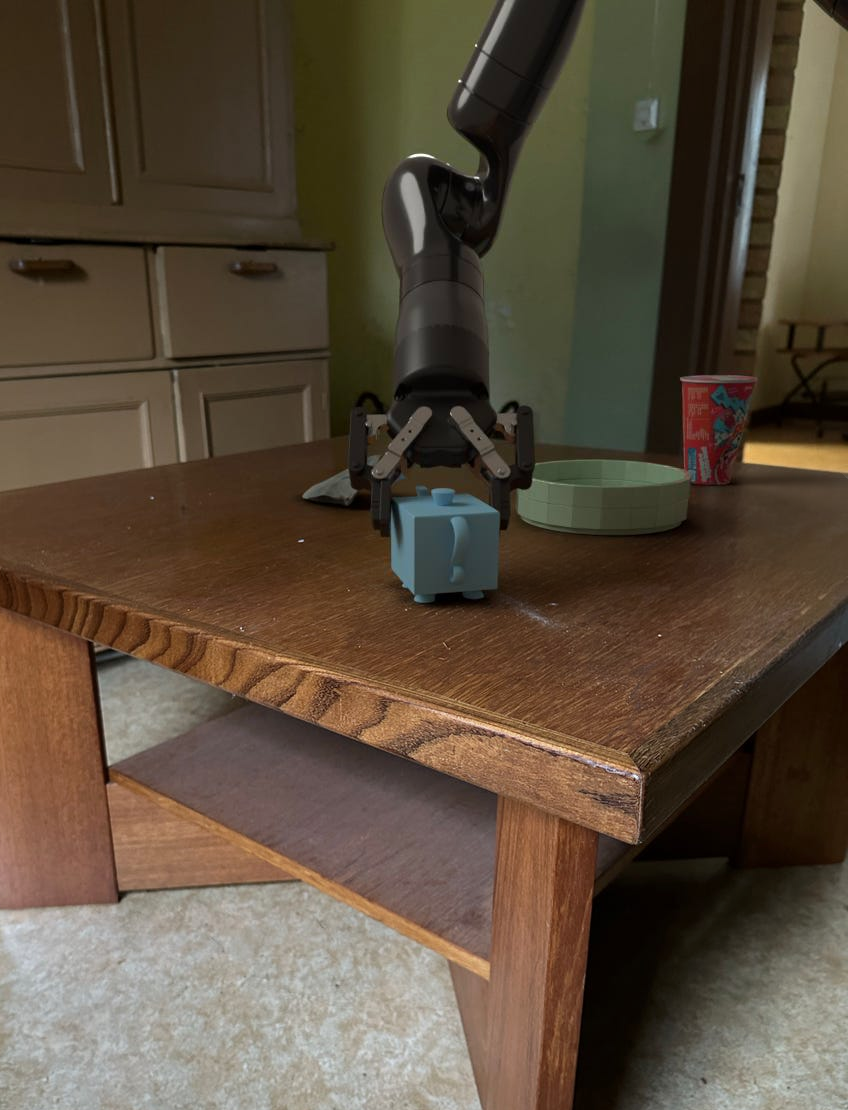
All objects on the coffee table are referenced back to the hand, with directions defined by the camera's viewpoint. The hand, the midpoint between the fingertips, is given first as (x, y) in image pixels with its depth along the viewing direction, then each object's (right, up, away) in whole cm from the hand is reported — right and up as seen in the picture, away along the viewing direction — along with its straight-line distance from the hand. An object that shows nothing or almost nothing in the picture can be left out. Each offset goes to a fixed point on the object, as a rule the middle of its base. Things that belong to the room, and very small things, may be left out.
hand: (440, 531), depth 65 cm
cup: (+35, +11, +44) cm, 57 cm away
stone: (-8, +7, +36) cm, 37 cm away
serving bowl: (+18, +4, +25) cm, 31 cm away
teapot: (0, -4, +3) cm, 5 cm away
